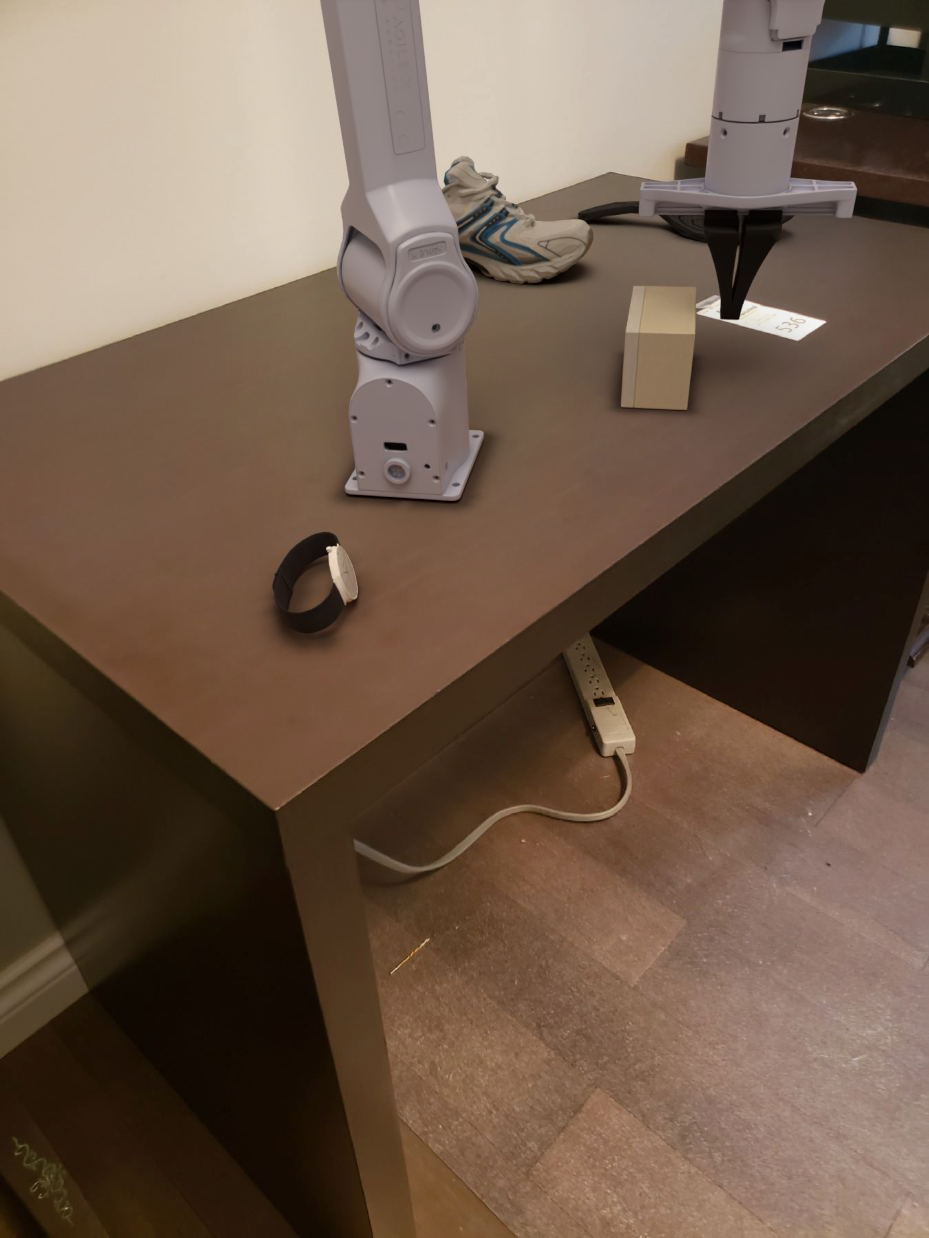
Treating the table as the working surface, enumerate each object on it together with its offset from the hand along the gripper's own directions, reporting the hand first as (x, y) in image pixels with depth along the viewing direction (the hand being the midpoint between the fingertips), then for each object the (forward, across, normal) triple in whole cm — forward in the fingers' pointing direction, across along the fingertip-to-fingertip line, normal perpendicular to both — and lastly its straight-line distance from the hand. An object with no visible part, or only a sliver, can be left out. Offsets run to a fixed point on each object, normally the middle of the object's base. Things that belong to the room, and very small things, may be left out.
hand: (729, 315), depth 71 cm
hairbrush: (+6, +4, -42) cm, 43 cm away
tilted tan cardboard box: (+6, +5, 0) cm, 8 cm away
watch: (+6, +23, +32) cm, 40 cm away
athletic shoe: (+6, +24, -27) cm, 37 cm away
